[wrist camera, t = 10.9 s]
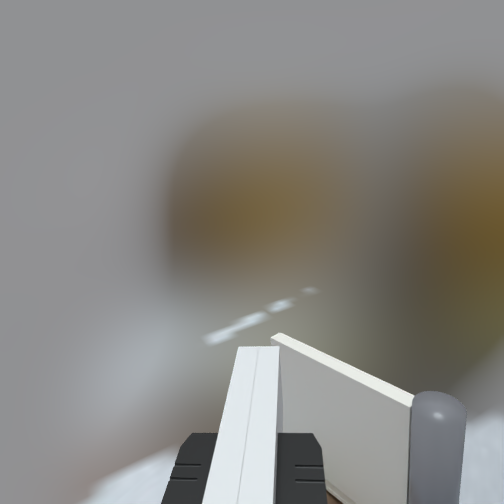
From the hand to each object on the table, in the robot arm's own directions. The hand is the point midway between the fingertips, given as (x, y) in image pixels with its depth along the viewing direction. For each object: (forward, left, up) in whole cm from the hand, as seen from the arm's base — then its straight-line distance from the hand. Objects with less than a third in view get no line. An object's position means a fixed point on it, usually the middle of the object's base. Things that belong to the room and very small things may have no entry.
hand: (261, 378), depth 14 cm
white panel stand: (+2, -13, -22) cm, 26 cm away
